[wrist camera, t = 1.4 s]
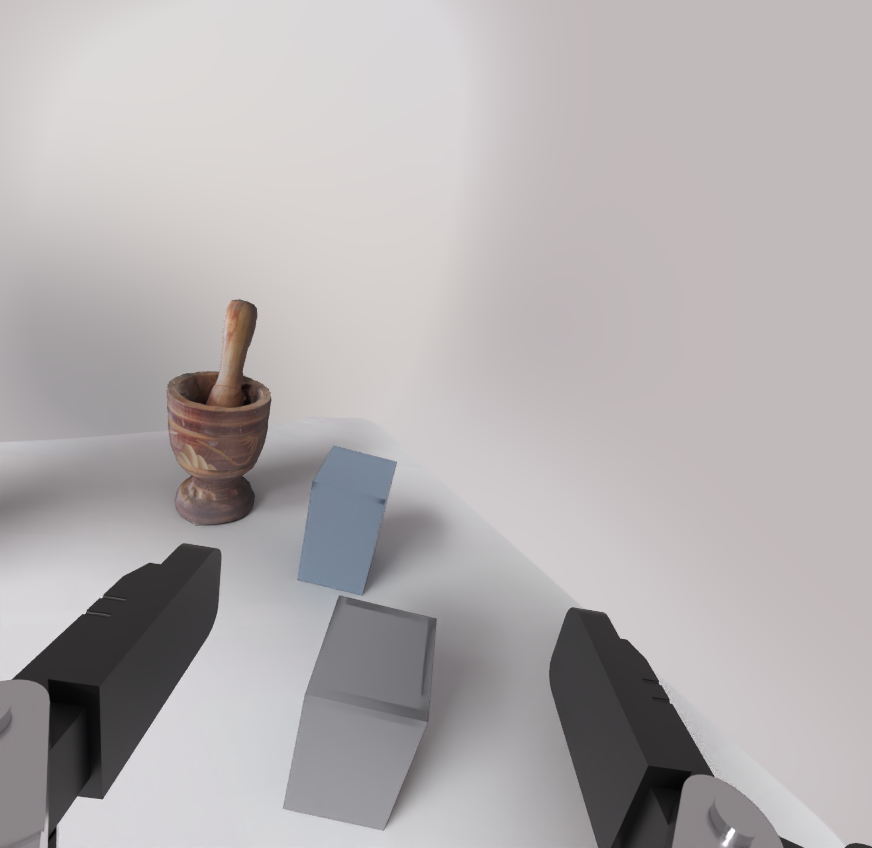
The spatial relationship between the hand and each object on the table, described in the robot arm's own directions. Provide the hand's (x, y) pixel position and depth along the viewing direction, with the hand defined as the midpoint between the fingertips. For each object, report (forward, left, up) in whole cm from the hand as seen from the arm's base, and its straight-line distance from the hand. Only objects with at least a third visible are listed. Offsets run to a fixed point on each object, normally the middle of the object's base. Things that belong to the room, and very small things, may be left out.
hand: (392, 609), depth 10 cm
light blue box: (-16, +20, -24) cm, 35 cm away
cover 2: (-4, +8, -24) cm, 26 cm away
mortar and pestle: (-32, +18, -24) cm, 44 cm away
